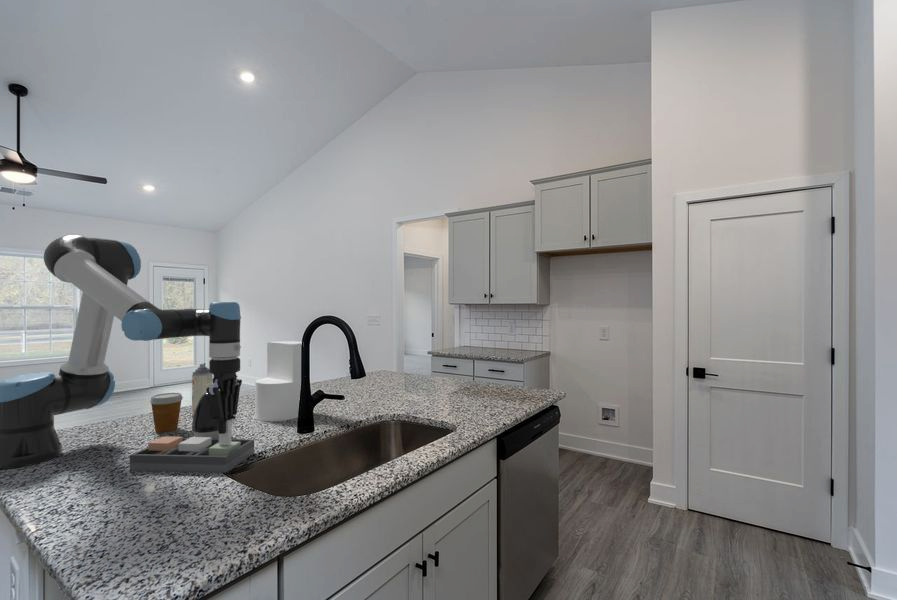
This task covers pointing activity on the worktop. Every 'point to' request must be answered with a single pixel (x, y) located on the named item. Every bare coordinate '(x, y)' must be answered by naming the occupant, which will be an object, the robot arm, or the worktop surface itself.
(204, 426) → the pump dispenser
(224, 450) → the key sage
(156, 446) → the key terracotta
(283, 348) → the white toilet
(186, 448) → the key grey
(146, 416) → the worktop surface
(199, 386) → the aerosol can
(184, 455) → the grey compartment tray
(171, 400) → the disposable coffee cup
